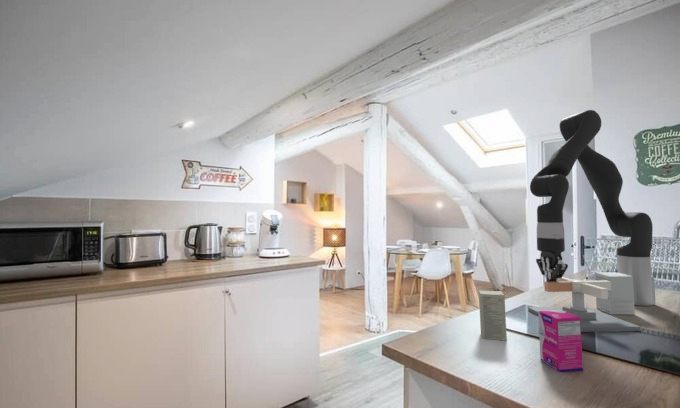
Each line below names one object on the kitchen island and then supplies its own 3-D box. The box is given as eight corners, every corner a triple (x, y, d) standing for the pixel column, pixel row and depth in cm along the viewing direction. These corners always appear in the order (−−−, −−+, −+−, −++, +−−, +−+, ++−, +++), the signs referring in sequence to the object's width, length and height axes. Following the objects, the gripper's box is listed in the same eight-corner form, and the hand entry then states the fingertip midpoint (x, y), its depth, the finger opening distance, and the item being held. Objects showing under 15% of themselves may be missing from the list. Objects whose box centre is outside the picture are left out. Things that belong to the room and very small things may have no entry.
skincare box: (504, 335, 89) (503, 291, 90) (507, 341, 85) (505, 294, 85) (479, 333, 91) (478, 289, 92) (481, 338, 87) (479, 293, 88)
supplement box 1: (539, 360, 74) (537, 309, 74) (563, 359, 74) (561, 308, 75) (558, 372, 68) (556, 317, 68) (584, 371, 69) (582, 316, 69)
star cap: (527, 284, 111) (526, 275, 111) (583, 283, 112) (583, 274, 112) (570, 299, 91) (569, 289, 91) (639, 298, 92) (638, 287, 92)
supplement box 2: (618, 308, 112) (616, 272, 113) (635, 315, 105) (633, 276, 105) (595, 308, 113) (594, 272, 114) (611, 314, 106) (609, 275, 106)
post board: (586, 310, 111) (585, 284, 111) (640, 330, 91) (639, 299, 91) (528, 310, 111) (527, 285, 111) (569, 331, 91) (568, 300, 91)
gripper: (527, 235, 111) (528, 285, 111) (551, 238, 98) (553, 295, 97) (549, 235, 111) (550, 285, 111) (576, 237, 98) (578, 295, 97)
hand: (551, 290), depth 104 cm, fingers closed
